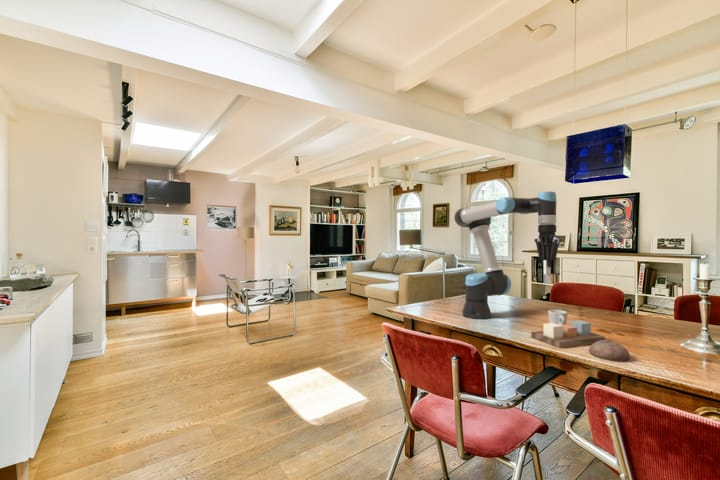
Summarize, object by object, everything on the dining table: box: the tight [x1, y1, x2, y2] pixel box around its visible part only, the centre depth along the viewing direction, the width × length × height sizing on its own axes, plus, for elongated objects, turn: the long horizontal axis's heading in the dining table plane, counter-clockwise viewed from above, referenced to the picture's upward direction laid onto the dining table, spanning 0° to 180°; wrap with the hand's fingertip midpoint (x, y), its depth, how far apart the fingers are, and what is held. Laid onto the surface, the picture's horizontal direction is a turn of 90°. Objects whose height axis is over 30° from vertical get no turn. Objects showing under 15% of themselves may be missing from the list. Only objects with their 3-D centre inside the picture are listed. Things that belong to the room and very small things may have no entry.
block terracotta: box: [561, 323, 577, 337], centre depth 137 cm, size 5×5×5 cm
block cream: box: [542, 322, 563, 339], centre depth 135 cm, size 5×5×5 cm
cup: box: [547, 309, 569, 325], centre depth 153 cm, size 11×8×8 cm
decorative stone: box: [588, 339, 631, 363], centre depth 119 cm, size 12×12×6 cm
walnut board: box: [530, 330, 606, 349], centre depth 137 cm, size 14×24×2 cm, turn 106°
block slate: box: [570, 319, 592, 335], centre depth 139 cm, size 5×5×5 cm
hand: (547, 273), depth 152 cm, fingers closed
